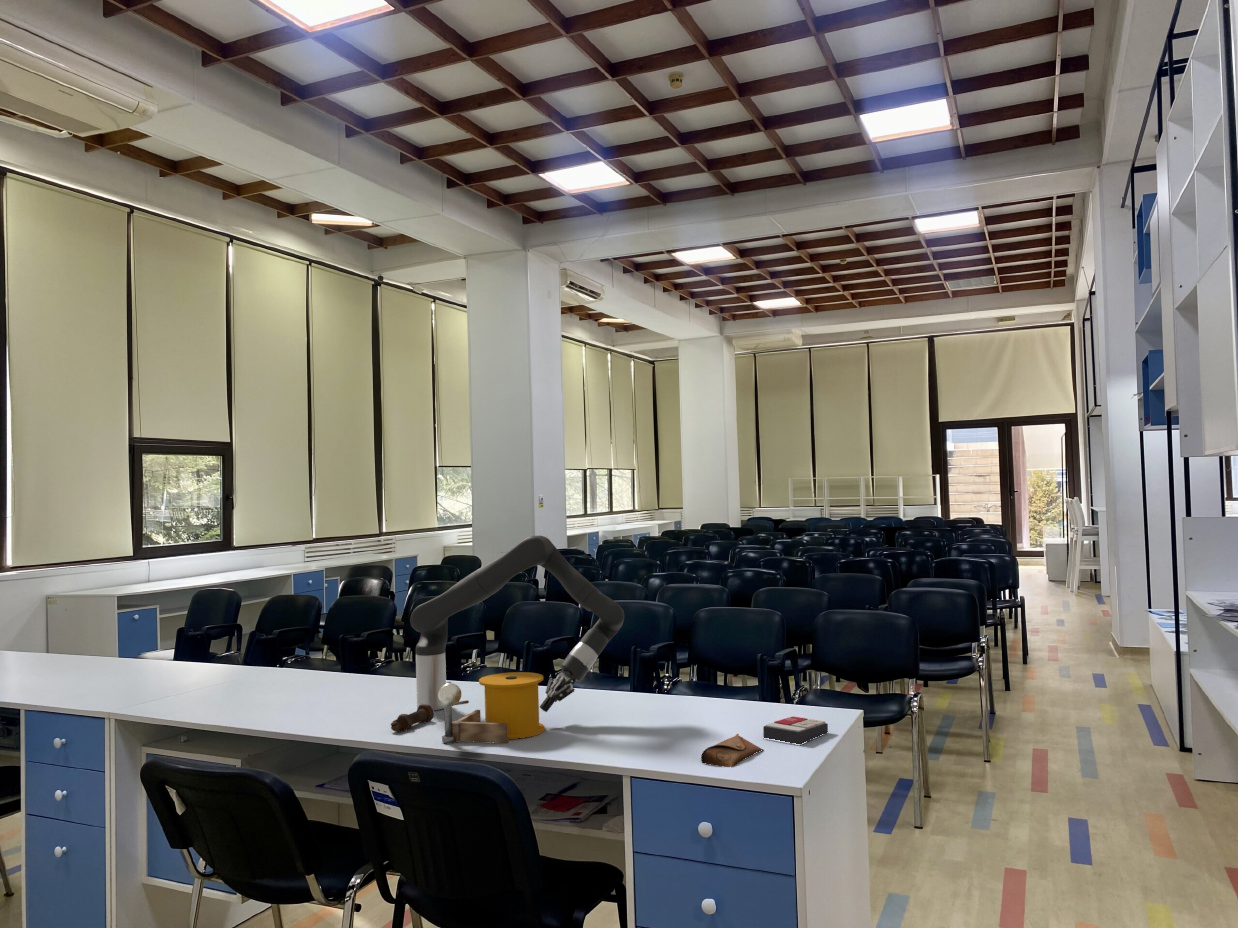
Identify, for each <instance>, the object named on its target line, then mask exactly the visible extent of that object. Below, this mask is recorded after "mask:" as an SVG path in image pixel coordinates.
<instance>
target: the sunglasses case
mask: <svg viewBox="0 0 1238 928" xmlns="http://www.w3.org/2000/svg"><path fill="white" fill-rule="evenodd" d="M761 750H763V751H764V749H763V748H761V747H760V746H757V745H756V744H754V743H753V742H750V741H749V740H747V739H745V738H744V737H742V736H740V735H739V733H737V734H735V735H733V736H732V737H729V738H727V739H725V740H722V741H720V742H718V743H717V744H715V745H714V744H713V745H711V746H709V747H706V748H705V749H704V750H703V751H702V753H701V756H700V760H701V763H702V764H703V763H706V764H705V765H709V764H711V765H710V766H715V765H718V766H717V767H722V766H724V767H723V768H730V767H731V768H733V767H735V766H736V765H738V764H739V763H741V762H742V760H743V759H745V758H746V759H748V758H750V757H752V756H754V755H755V754H754V753H756V752H759V751H761ZM761 752H762V751H761ZM759 753H760V752H759ZM753 754H754V755H753ZM756 754H757V753H756ZM751 755H752V756H751ZM749 756H750V757H749ZM747 757H748V758H747ZM746 759H745V760H746ZM740 761H741V762H740ZM743 761H744V760H743Z"/></svg>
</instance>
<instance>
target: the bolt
mask: <svg viewBox="0 0 1238 928" xmlns="http://www.w3.org/2000/svg"><path fill="white" fill-rule="evenodd" d="M434 716H435V713H434V710H433V709H432V708H431V706H430V705H427V704H421V705H419V707H418V709H417V708H416V711H413V712H411V713H409V714H407V713H401V714H399V715H398V716H397V719H394V720H393V721H392V722H391V723H390V729H391V730H392V731H394V732H395V733H396V732H399V731H409V730H411V727H412V726H413V725H416V724H418V723H431V722H432V720H433V718H434Z"/></svg>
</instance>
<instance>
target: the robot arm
mask: <svg viewBox="0 0 1238 928" xmlns="http://www.w3.org/2000/svg"><path fill="white" fill-rule="evenodd" d="M536 566H540V567H542V568H543V569H545V570H546V571H548V572H549V573H551V574H552V575H553V576H554V577H555V578H556V579H557V580H558V582H559V583H560V584H561V586H562V587H563V588H564V590H565V591H566V592H567V593H568V594H569V596H570V597H571V598H572V599H574V601H575V602H577V604H579V606H581V607H582V608H583V609H585V610H586V611H588V612H591V613H593V614H594V615H595V616H597V617H598V618H599V619H598V620H597V621H596V622H595V624H594V625H593V626H592V628H589V630H588V631H586V633H585V634H584V635H583V637H582V638H581V639H580V640H579V642H577V644H576V645H575V646H574V647H573V648H572V650H571V651H570V652H569V654H567V656H566V657H565V659H564V660H563V661H562V662H561V664H560V666H559V667H560V669H561V671H560V672H559V673H558V674H557V676H556V678H553V677H550V678H549V680H548V683H547V686H546V690H545V694H546V697H545V699H544V700H543V701H542V703H540V704H539V709H541V710H542V711H543V712H545V713H548V711H549V710H550V708H552V706H553V704H555V703H557V702H561V701H563V700H564V699H565V698H567V697H568V696H570V695H571V694H572V693H574V692H575V690H576V689H575V688H574V685H575V684H576V682H578V683H580V682H581V681H582V680H583V679H584V677H585V676H586V675H587V673H588V672H589V671H590V670H591V668H592V667H593V666H594V664H595V663H596V660H597V659H598V658H599V656H600V655H601V653H602V652H603V651H604V650H605V647H607V644H609V642H610V641H612V639H613V638H614V637H615V636H616V635H617V634H618V632H619V631H620V630H621V628H622V627H623V624H624V621H625V612H624V609H623V608H622V606H620V604H618V603H617V602H616V601H615V600H613V599H612V598H610V597H609V596H607V595H605V594H604V593H602V592H601V591H600V590H599V589H598V588H597V587H596V586H595V585H594V584H593V583H591V582H590V581H589V580H588V579H587V578H586V577H585V576H584V575H582V574H581V573H580V572H579V571H578V570H577V569H576V568H574V566H572V564H571V563H569V562H568V561H567V559H566V558H565V557H564V555H563V554H562V553H561V552H560V551H559V549H558V548H557V547H556V546H555V545H554V544H553V542H552V541H551V540H550V538H548V537H546V536H543V535H529V536H527V537H526V538H524V539H523V540H521V541H520V542H518V543H517V544H516V545H515V546H513V548H511V549H510V550H508V551H507V552H506V553H505V554H503V555H502V556H500V557H498V558H496V559H494V560H491V561H490V562H489V563H487V564H484V565H483V566H481V567H480V568H478V569H476V570H474V571H473V572H471V573H470V574H468V575H467V576H465V577H464V578H462V579H461V580H458V582H457V583H455V584H454V585H453V586H451V587H450V588H449V589H448V590H446V591H445V592H443V593H442V594H440V595H438V596H436V597H434V598H432V599H430V600H428V601H426V602H423V603H422V604H419V605H417V606H416V607H415V608H413V611H412V612H411V615H410V620H409V621H410V626H411V627H412V629H414V631H416V632H418V633H420V637H419V640H418V642H417V643H416V646H415V675H416V678H415V679H416V680H415V681H416V710H417V709H418V707H419V705H421V704H427V705H430V706H431V708H432V709H433V711H438V710H440V711H441V710H443V709H444V704H442V703H441V702H440V700H439V697H438V693H439V690H440V688H441V687H442V686H443V685H444V682H447V673H446V672H447V669H446V668H447V665H446V663H447V662H446V646H447V642H448V635H449V634H448V627H449V626H448V624H449V623H448V622H449V621H448V619H449V618H450V617H451V616H453V615H455V614H457V613H459V612H461V611H464V610H466V609H469V608H471V607H473V606H475V605H478V604H480V603H481V602H483V601H485V600H486V599H488V598H489V597H491V596H493V595H495V594H496V593H497V592H499V591H500V590H502V588H504V586H505V585H506V584H507V583H508V582H509V581H510V580H512V579H513V577H515V576H517V575H519V574H520V573H523V572H524V571H526V570H528V569H530V568H532V567H536Z"/></svg>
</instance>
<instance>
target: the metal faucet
mask: <svg viewBox="0 0 1238 928" xmlns="http://www.w3.org/2000/svg"><path fill="white" fill-rule="evenodd" d="M438 697H439V700H440V702H441V703H442V704H444V735H442V736H441V743H442V742H443V743H452V744H455V743H456V742H455V736H453V733H452V722H453V707H454V706H459V705H466V704H469V703H470V702H469V700H461V698H462V689H461V688H460V686H459V685H457V684H455V683H453V682H452V681H446V682H444V685H443V686H442V687H441V688H440V690H439V693H438ZM454 742H455V743H454ZM443 743H442V744H443Z"/></svg>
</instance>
